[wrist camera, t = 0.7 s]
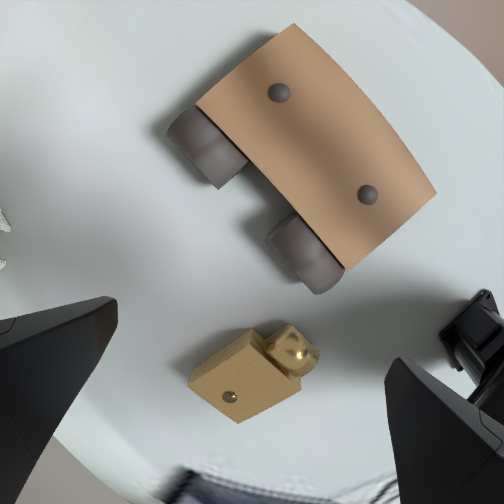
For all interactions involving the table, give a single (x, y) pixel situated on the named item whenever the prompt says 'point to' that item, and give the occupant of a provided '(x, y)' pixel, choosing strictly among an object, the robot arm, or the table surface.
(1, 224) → the door handle
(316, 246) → the tan flat piece
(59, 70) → the table surface
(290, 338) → the tan knobbed block
